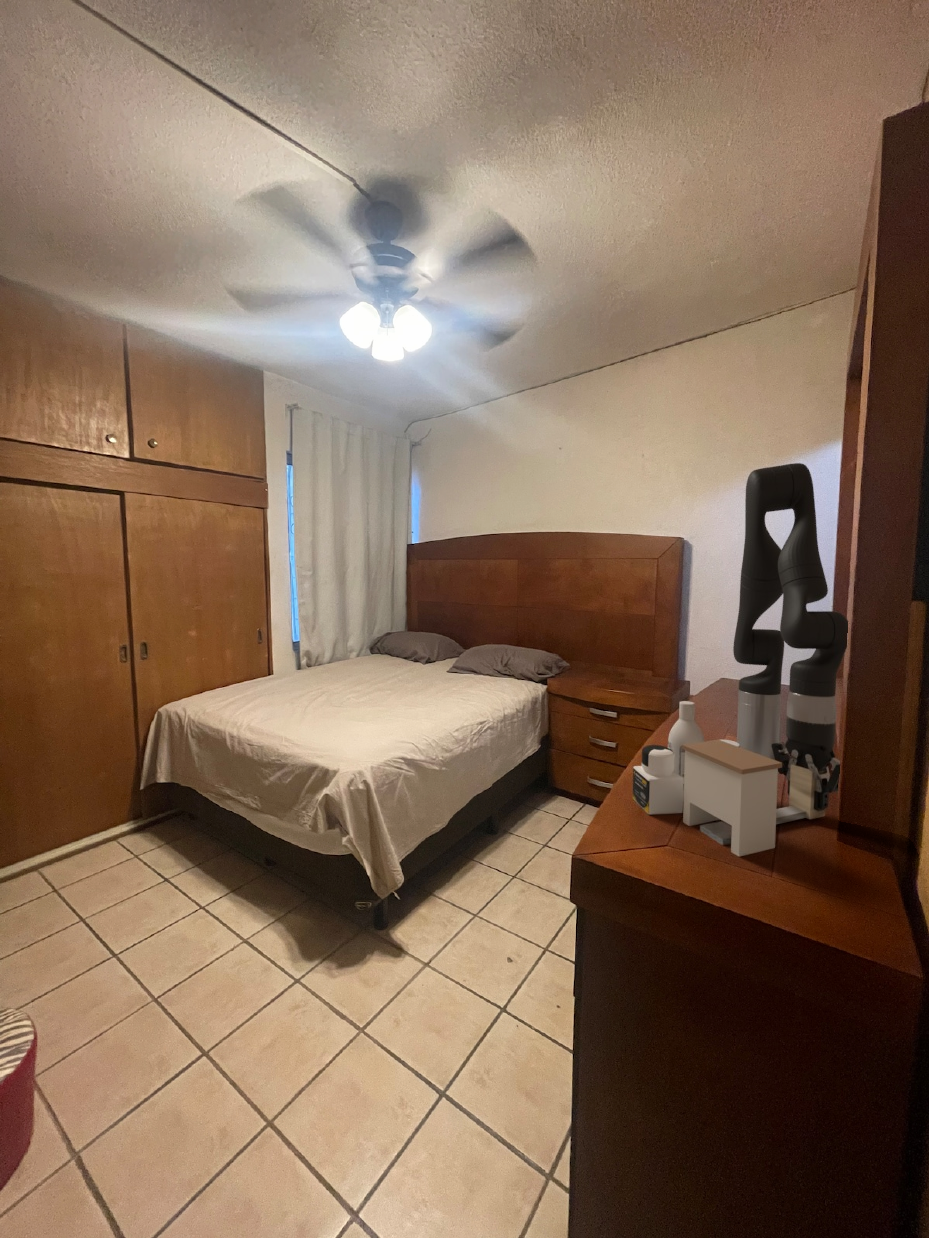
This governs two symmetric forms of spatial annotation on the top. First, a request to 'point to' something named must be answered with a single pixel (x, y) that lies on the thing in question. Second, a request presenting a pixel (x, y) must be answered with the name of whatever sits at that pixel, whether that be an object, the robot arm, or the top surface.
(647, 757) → the medicine bottle
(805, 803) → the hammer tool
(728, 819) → the cabinet
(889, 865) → the top surface
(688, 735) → the bath foam
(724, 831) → the plate
